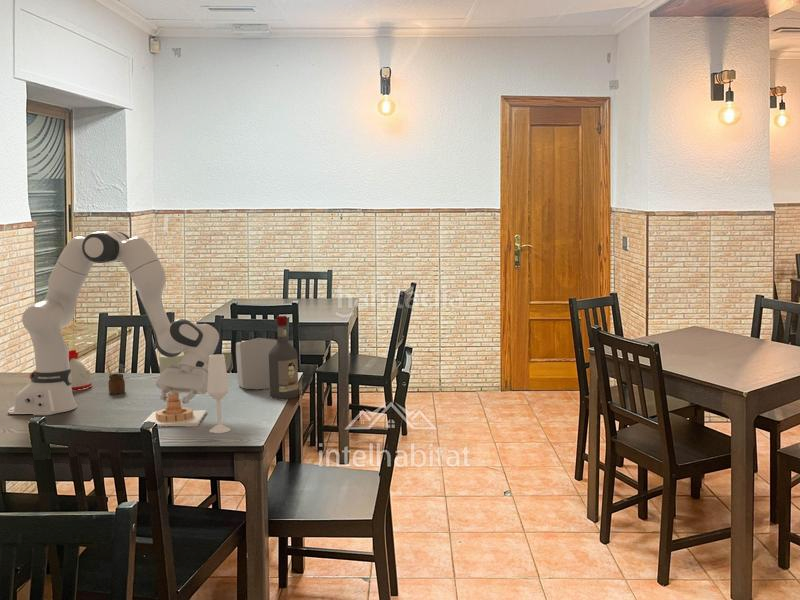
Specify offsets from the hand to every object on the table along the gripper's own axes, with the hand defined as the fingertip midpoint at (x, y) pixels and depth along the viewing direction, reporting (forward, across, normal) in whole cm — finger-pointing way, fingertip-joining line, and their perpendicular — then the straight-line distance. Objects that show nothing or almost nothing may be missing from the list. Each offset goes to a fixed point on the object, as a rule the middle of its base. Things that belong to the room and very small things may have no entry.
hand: (173, 401), depth 297 cm
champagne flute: (+8, +22, +2) cm, 24 cm away
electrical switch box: (-35, -7, +45) cm, 57 cm away
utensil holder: (-13, -50, +22) cm, 56 cm away
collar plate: (+4, 0, +5) cm, 6 cm away
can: (-28, -42, +38) cm, 63 cm away
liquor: (-27, +14, +36) cm, 47 cm away
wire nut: (+4, 0, +4) cm, 5 cm away
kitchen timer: (-13, -73, +22) cm, 78 cm away
